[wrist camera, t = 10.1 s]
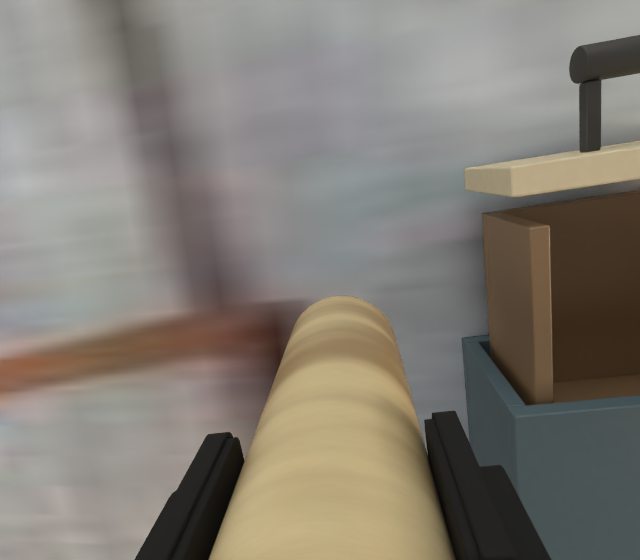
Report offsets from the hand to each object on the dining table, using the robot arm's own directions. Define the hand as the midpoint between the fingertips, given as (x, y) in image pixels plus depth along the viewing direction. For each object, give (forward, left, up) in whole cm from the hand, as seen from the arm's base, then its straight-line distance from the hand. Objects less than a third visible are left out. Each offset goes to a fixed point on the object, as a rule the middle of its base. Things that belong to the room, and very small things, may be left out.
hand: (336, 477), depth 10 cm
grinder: (0, 0, -8) cm, 8 cm away
